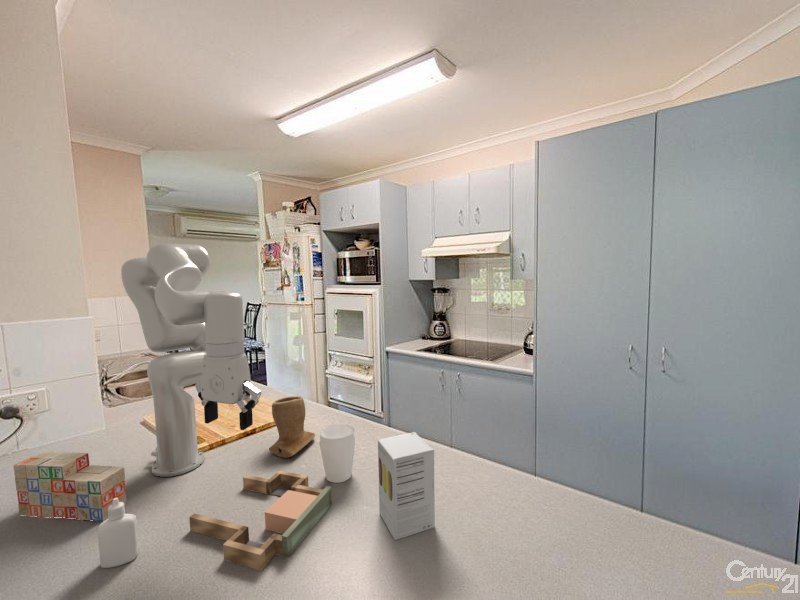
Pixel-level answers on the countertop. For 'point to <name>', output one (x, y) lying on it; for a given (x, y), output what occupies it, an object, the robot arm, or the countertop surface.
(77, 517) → the stack of blocks
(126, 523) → the eye dropper bottle
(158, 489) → the countertop surface
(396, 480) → the supplement box
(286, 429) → the stone cup
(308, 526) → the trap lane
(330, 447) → the cup
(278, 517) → the block
